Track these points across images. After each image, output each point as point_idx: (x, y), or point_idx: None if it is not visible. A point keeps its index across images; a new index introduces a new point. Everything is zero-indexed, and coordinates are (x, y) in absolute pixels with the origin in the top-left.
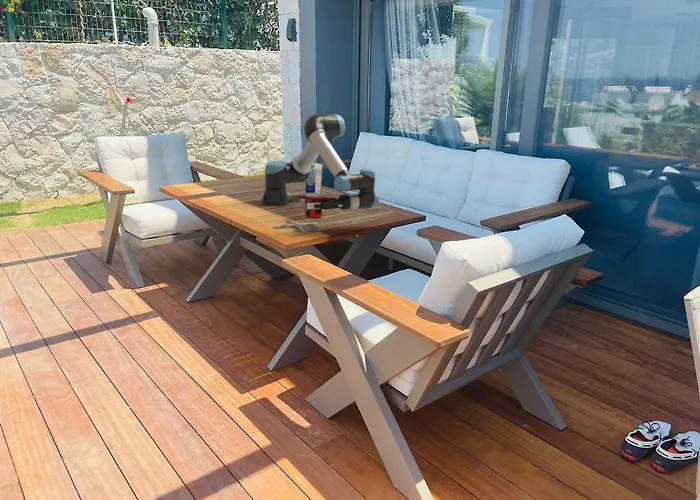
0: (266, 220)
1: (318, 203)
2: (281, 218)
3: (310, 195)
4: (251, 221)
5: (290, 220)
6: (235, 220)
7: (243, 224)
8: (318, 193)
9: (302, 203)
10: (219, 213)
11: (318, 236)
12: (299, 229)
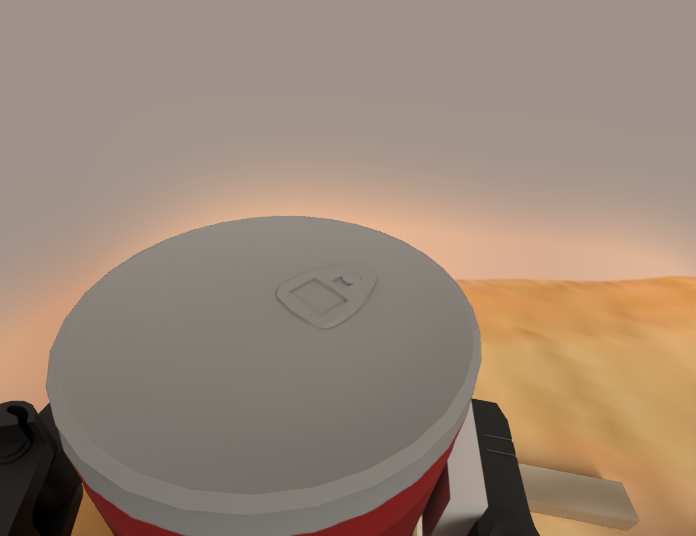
0: (601, 377)
1: None
2: (693, 491)
3: (300, 264)
4: (566, 315)
5: (560, 483)
6: (576, 280)
7: (509, 280)
8: (358, 464)
9: None
10: (688, 276)
11: (84, 509)
12: None
